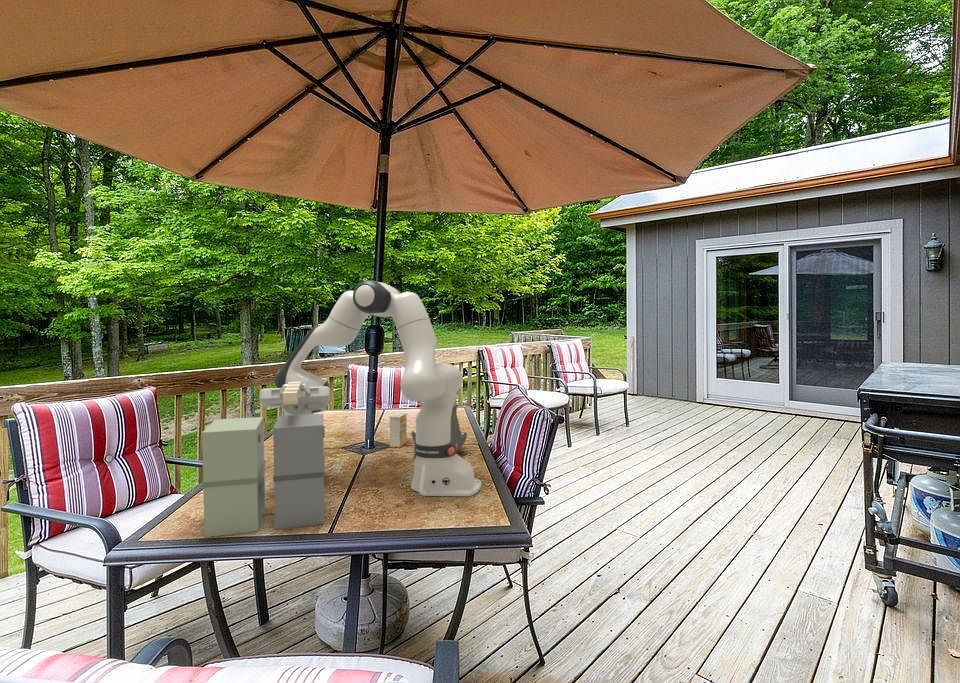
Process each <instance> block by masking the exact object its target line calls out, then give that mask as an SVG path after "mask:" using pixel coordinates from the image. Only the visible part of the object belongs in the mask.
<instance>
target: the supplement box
mask: <svg viewBox="0 0 960 683" xmlns="http://www.w3.org/2000/svg"><path fill="white" fill-rule="evenodd" d="M405 444H407V413H404V412H396V413H394V414H392V415H390V416H389V447H390V448H395V447H398V449H400V448H401V447H403V446H404V445H405Z"/></svg>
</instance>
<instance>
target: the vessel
mask: <svg viewBox="0 0 960 683" xmlns="http://www.w3.org/2000/svg"><path fill="white" fill-rule="evenodd" d="M422 405H423V402H420V409H421V408H422ZM457 408H458V403H457V402H455V401H454V404H453V409H452V414H451V426H450V441H451V442H452V443H453V444H456V443H457V448H456V453H457V452H458V451H459V450H460V449H461V448H462V447H463V446H464V444H465V443H466V441H467V440H466V439H467V436H468V433H467V432H466V431H464V432H463V433H462V432H461V428H460V423H459V419H458V412H457V410H458V409H457ZM410 434H411V437H412V440H413V442H414V443H415V442H416V431H415V430H412V431H411V433H410Z"/></svg>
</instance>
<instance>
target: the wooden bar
mask: <svg viewBox="0 0 960 683" xmlns="http://www.w3.org/2000/svg"><path fill="white" fill-rule="evenodd" d="M300 394H301V381H295V382H288V384H287V386H286V388H285V390H284V391H283V405H289V404H297V403H298V400H299V397H300Z"/></svg>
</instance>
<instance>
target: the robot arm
mask: <svg viewBox="0 0 960 683" xmlns="http://www.w3.org/2000/svg"><path fill="white" fill-rule="evenodd" d="M369 316H374V317H379V318H381V317H382V318H388V319H389V318H392V320H393V321H394V322H393V323H394V324H395V327H396V332H397V334H398V338H399V341H400V344H401V348H402V350H403V355H404V356H403V357H404V372H403V375H402V377H401V379H400V391H401V394H402V395H403V396H404V398H405V399H407V400H408V401H410V402H414V403H415V402H417V403H423V405H422V408H421V407H420V410H419V412H418V414H417V415H416V418H415V433H416V442H414V446H413V455H414V458H413V459H414V468H413V469H414V470H413V475H412V480H411V483H410V488H411V490H413V491H415V492H417V493H418V494H419V495H420V496H422V497H470V496H473V495H476V494H477V493H478V492H479V491H480V490H481V489H482V481H481V480H480V479H479V478H475V472H474V468H473V466H472V465H471V463H469V462H467V461H466V460H465V459H464V458H463V457H461V456H460V455H459V454H457V452H456V448H457V443H456V444H453V443H452V442H451V441H450V426H451V414H452V409H453V404H454V402H455V399H456V397H457V393H458V391H459V389H461V387H462V384H463V375H462V372H461V370H460V369H459V368H458V367H457V366H455V365H453V364H450V363H444V362H440V363H436V357H435V356H436V355H435V349H436V347H437V345H438V340H437V336H436V334H435V330H434V329H433V325H432V322H431V319H430V317H429V314H428V312H427V309H426V306H424V303H423V301H422V300H421V298H420V296H419V295H418V294H417V293H415V292H411V291H404V292H401V291H400V290H399V289H398V288H397V287H395V286H391V285H389V284H388V283H385V282H380V281H376V280H371V279H370V280H369V279H368V280H364V281H361V282H359V283H358V284H357V285H356V286H355V288H354V290H345V292H343V293H342V294H341V296H340V297H339V298H338V299H337V301H336V303H335V304H334V306H333V307H332V309H331V311H330V313H329V316H328V317H327V318H326V320H325V321H324V322H323V323H322V324H319V325H314V326H313V327H312V328H311V329H309V330H308V332H307V333H306V334H305V336H304V337H303V338H302V340H301V341H300V342H299V344H298V345H297V346H296V348H295V349H294V351H293V352H292V353H291V355H290V357H289V358H288V359H287V360H286V362H285V363H284V364H283V366H282V367H281V368H280V369H279V370H278V371H277V372H276V374H275V376H274V379H273V381H274V385H275V388H274V387H273V388H271V387H270V388H261V389H260V390H259V393H258V394H259V395H258V396H259V397H258V398H259V399H258V400H259V402H260V404H261V405H262V406H263V407H266V408H280V407H282V410H283V416H290V415H309V414H318V413H322V412H325V411H326V407H327V406H328V405H329V403H330V399H331V387H330V383H329V382H328V381H327V380H325V379H323V378H321V377H319V376H317V375H316V374H313V373H311V372H309V371H307V370H305V369H303V368H302V366H301V365H302V363H303V362H304V361H306V358H307V357H308V355H309V354H310V352H312V350H313V349H314V348H315V347H318V346H322V347H334V348H339V347H345V346H346V347H347V346H348V345H351V344H352V343H353V342H354V341H355V339H356V338H357V336H358V334H359V332H360V331H361V329H362V326H363V324H364V322H365V320H366V319H367V318H368V317H369ZM295 381H301V394H300V397H299V400H298V403H297V404H289V405H283V391H284V390H285V388H286V386H287V384H288V382H295Z"/></svg>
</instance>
